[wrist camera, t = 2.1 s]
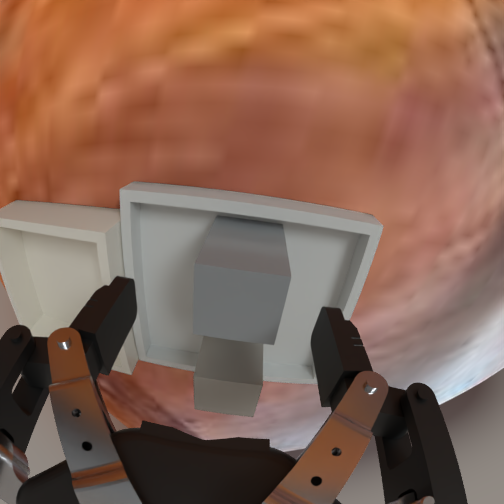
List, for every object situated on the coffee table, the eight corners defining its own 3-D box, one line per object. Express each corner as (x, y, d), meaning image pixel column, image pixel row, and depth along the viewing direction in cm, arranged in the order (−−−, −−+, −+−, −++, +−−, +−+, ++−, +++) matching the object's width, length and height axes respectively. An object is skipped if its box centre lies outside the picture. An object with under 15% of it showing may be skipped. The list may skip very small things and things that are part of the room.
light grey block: (263, 319, 20) (262, 385, 15) (255, 355, 22) (253, 416, 17) (209, 312, 20) (193, 376, 15) (207, 349, 22) (194, 409, 16)
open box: (132, 210, 17) (105, 232, 14) (145, 343, 23) (131, 375, 19) (16, 200, 17) (-13, 216, 14) (43, 314, 22) (25, 336, 19)
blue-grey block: (283, 224, 17) (291, 276, 11) (271, 280, 19) (274, 344, 13) (216, 215, 17) (194, 263, 11) (212, 272, 18) (193, 333, 13)
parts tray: (372, 214, 17) (383, 226, 15) (316, 367, 23) (319, 384, 21) (133, 181, 16) (119, 189, 15) (146, 344, 23) (139, 359, 21)
